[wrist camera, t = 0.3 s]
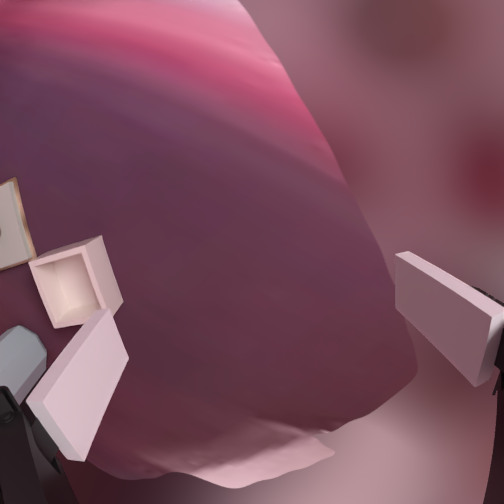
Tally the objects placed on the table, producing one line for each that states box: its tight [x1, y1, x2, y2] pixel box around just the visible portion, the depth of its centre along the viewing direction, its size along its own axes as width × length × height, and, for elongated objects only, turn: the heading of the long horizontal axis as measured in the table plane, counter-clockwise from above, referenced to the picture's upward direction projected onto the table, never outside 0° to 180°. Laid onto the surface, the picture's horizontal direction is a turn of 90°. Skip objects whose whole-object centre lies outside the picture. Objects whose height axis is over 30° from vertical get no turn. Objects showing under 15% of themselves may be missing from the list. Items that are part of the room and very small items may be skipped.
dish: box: [28, 236, 123, 329], centre depth 38 cm, size 10×10×6 cm
